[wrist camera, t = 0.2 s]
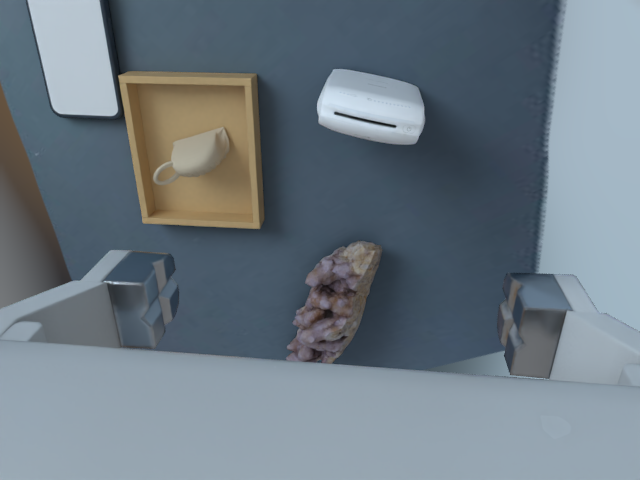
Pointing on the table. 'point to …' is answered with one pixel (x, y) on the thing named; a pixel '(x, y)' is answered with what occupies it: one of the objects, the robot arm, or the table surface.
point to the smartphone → (77, 57)
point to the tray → (186, 121)
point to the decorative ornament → (196, 155)
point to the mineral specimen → (334, 303)
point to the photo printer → (371, 107)
